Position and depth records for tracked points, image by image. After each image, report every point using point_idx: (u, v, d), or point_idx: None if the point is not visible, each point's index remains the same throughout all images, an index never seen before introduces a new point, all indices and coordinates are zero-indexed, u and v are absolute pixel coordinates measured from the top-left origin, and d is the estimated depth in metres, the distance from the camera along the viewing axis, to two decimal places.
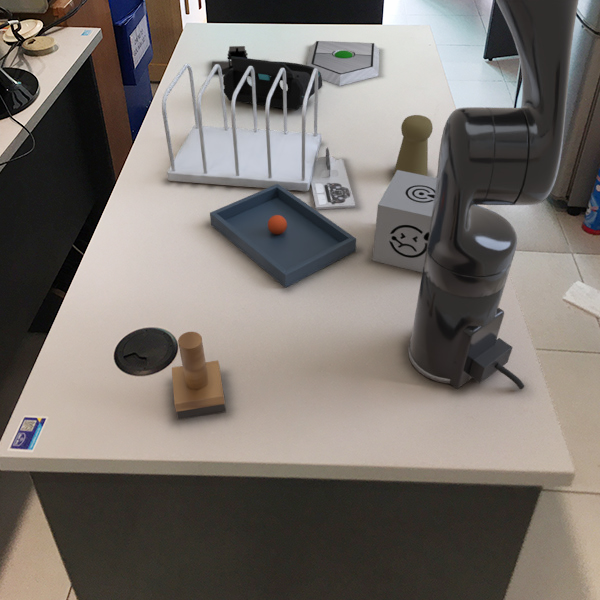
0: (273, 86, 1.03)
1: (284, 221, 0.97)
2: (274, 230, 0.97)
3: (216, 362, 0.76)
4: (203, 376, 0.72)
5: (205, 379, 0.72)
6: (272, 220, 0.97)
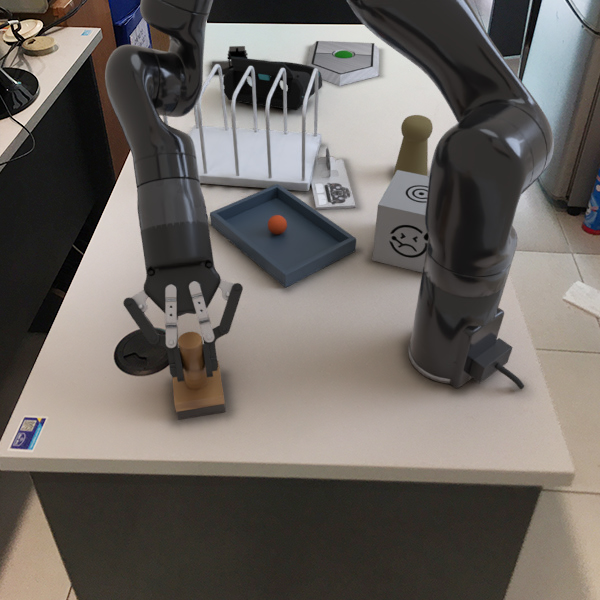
0: (273, 86, 1.03)
1: (284, 221, 0.97)
2: (274, 230, 0.97)
3: None
4: (203, 376, 0.72)
5: (205, 379, 0.72)
6: (272, 220, 0.97)
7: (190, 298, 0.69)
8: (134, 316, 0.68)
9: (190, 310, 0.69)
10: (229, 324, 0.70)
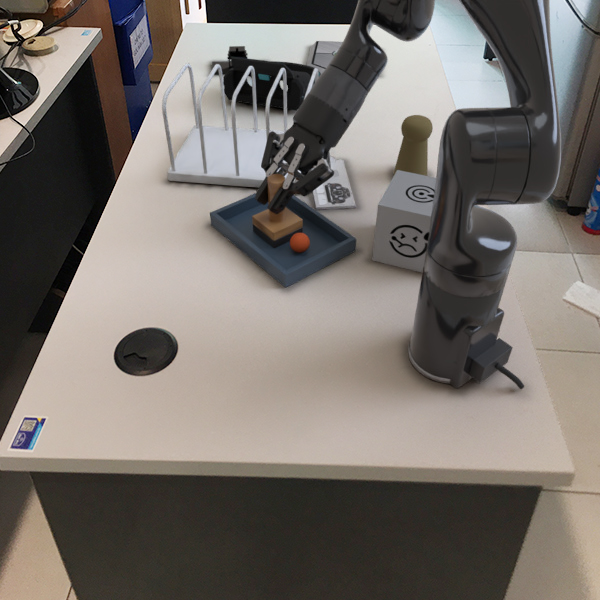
0: (273, 86, 1.03)
1: None
2: (290, 240, 0.94)
3: (300, 219, 0.97)
4: None
5: (276, 217, 0.95)
6: None
7: None
8: (267, 144, 0.95)
9: (291, 162, 0.92)
10: (300, 186, 0.90)
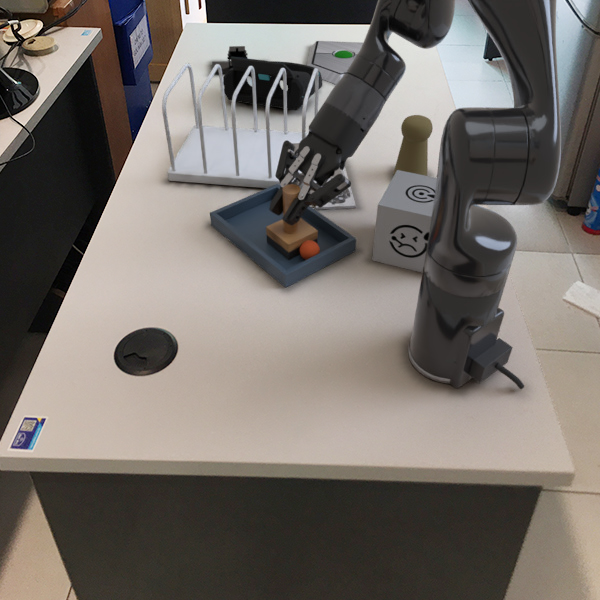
0: (273, 86, 1.03)
1: (312, 241, 0.93)
2: (305, 252, 0.92)
3: (315, 230, 0.95)
4: None
5: (291, 228, 0.93)
6: (301, 245, 0.93)
7: None
8: (281, 153, 0.93)
9: (307, 172, 0.90)
10: (316, 197, 0.88)
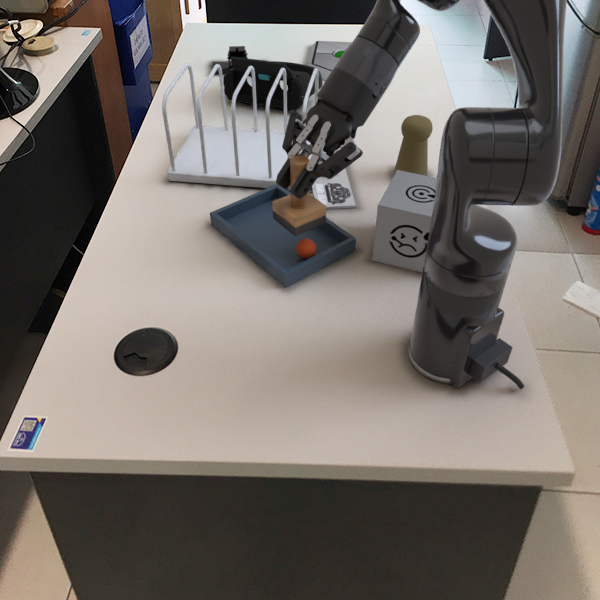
0: (273, 86, 1.03)
1: (310, 240, 0.93)
2: (303, 251, 0.92)
3: (323, 206, 0.90)
4: (297, 198, 0.88)
5: (298, 202, 0.89)
6: (298, 243, 0.93)
7: None
8: (288, 124, 0.88)
9: (316, 142, 0.85)
10: (326, 167, 0.83)
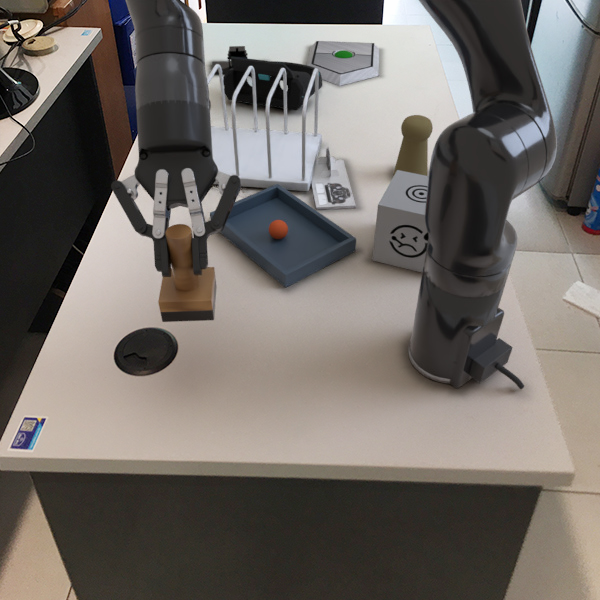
0: (273, 86, 1.03)
1: (286, 234, 0.97)
2: (273, 237, 0.97)
3: (211, 268, 0.70)
4: (192, 276, 0.66)
5: (194, 281, 0.67)
6: (278, 233, 0.96)
7: (183, 187, 0.64)
8: (121, 201, 0.63)
9: (181, 200, 0.64)
10: (222, 219, 0.64)
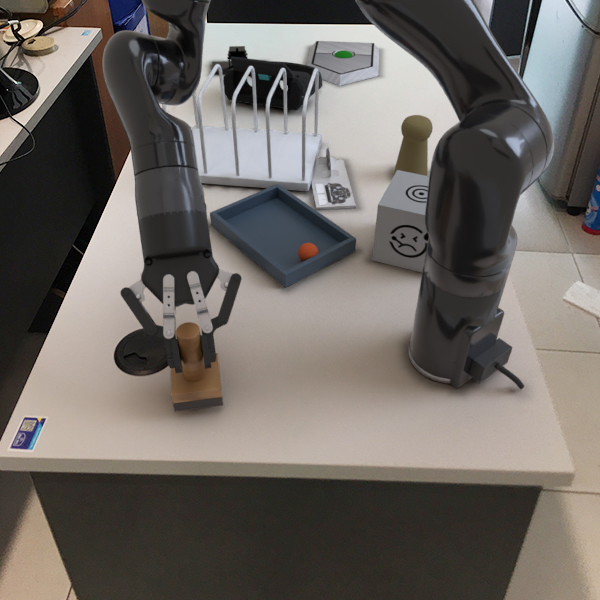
0: (273, 86, 1.03)
1: (315, 248, 0.92)
2: (305, 258, 0.92)
3: None
4: (201, 368, 0.71)
5: (202, 372, 0.71)
6: (303, 247, 0.92)
7: (188, 288, 0.68)
8: (131, 306, 0.67)
9: (188, 300, 0.68)
10: (228, 315, 0.69)
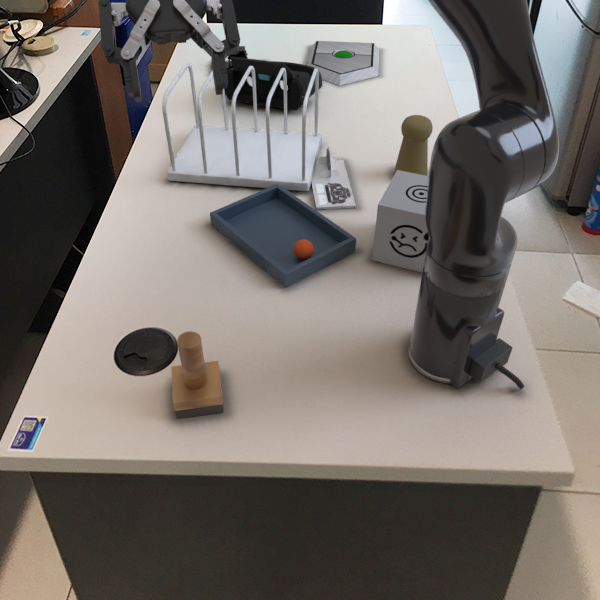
0: (273, 86, 1.03)
1: (307, 240, 0.93)
2: (299, 251, 0.92)
3: (216, 362, 0.76)
4: (202, 376, 0.72)
5: (203, 380, 0.72)
6: (295, 244, 0.93)
7: (181, 19, 0.66)
8: (102, 17, 0.64)
9: (174, 30, 0.66)
10: (236, 32, 0.66)
